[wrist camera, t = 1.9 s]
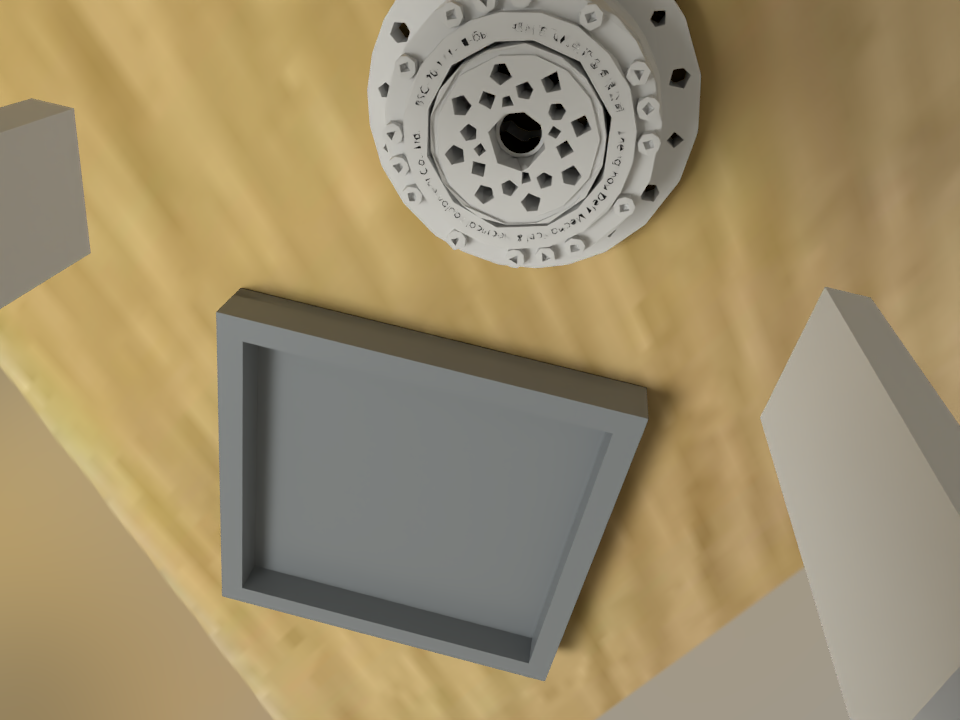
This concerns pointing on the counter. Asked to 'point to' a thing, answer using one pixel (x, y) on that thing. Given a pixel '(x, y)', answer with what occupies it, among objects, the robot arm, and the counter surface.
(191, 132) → the counter surface
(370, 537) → the dock tray
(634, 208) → the mechanical component
